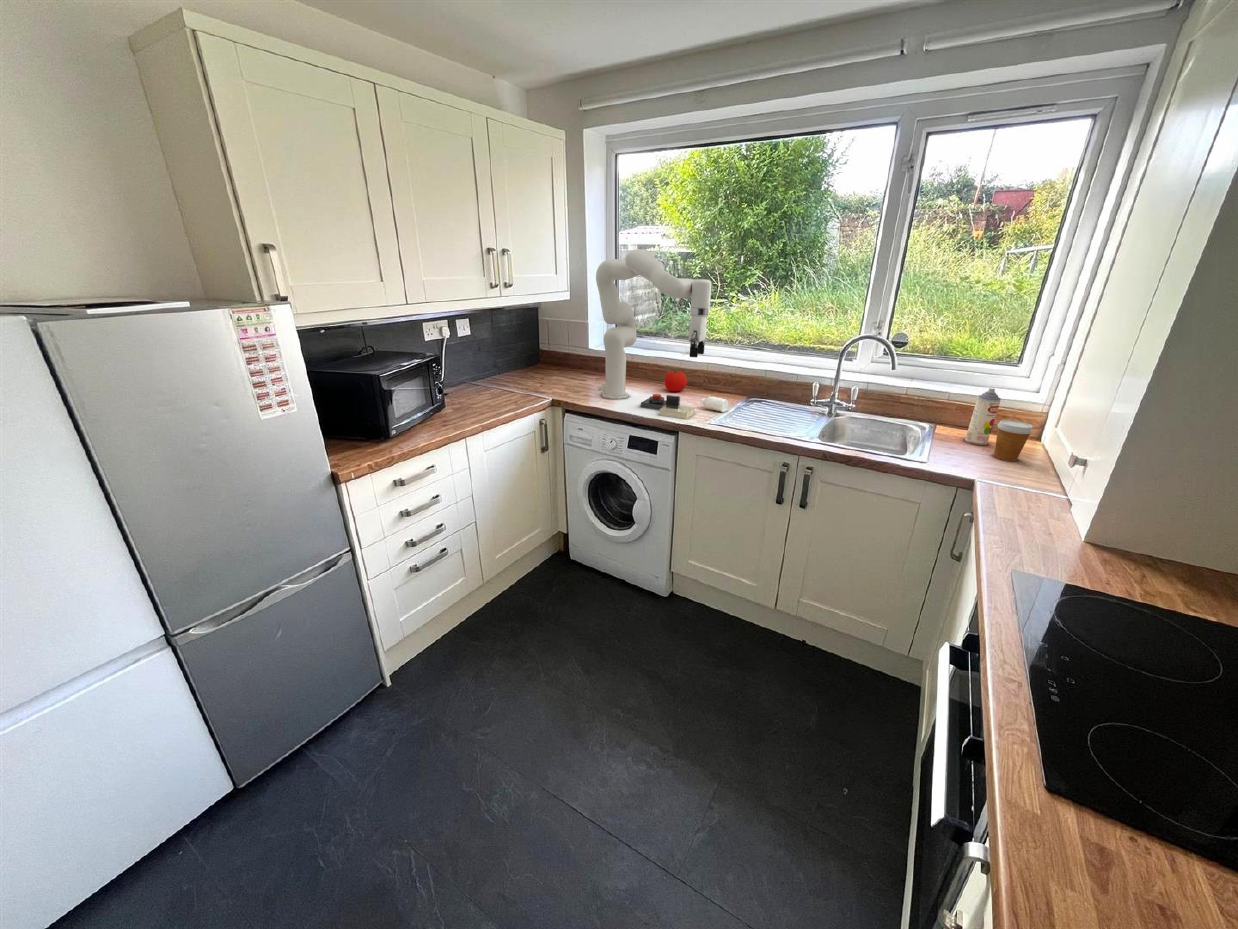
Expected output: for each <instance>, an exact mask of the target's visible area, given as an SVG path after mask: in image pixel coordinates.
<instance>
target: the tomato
mask: <svg viewBox="0 0 1238 929" xmlns="http://www.w3.org/2000/svg"><path fill="white" fill-rule="evenodd" d="M687 385H688V378H687V375H686V374H685V372H683V371H682V370H675V369H672V370H671V371H670V370H669V371H667V373H666V374H665V376H664V386H665V389H666V390H667V391H668V392H673V393H676V392H677V393H678V392H682V391H683V390H684V389H685V388H686V387H687Z"/></svg>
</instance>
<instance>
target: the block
mask: <svg viewBox="0 0 1238 929" xmlns="http://www.w3.org/2000/svg"><path fill="white" fill-rule="evenodd" d="M665 405H666V399H665V397H664V396H661V399H653V395H652V396H651V395H650V396H649V397H648V398H646V399H644V400H643V401H641V403H640V408H644V409H651V410H658V411H660V409H661V408H662V407H663V406H665Z"/></svg>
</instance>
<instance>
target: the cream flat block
mask: <svg viewBox="0 0 1238 929" xmlns="http://www.w3.org/2000/svg"><path fill="white" fill-rule="evenodd" d="M695 409H696V407H693V406H686V405H680V408H679V409H675V408H668V407H666V405H665V406H663V407H662V408H661V409H660V410H658V411H659V413H658V415H659V416H663V417H671V418H677V419H685V420H688V419H689V418H691V417H692V415H694V414H695Z"/></svg>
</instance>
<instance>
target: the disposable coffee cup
mask: <svg viewBox="0 0 1238 929" xmlns="http://www.w3.org/2000/svg"><path fill="white" fill-rule="evenodd" d="M1033 427H1034V426H1033V424H1030V423H1027V422H1024V421H1019V420H1013V419H1012V420H1011V419H1002V420H1000V421H999V423H997V433H996V438H995V445H994V452H993V457H994V458H996V459H998V460H1001V461H1006V462H1016V461H1017V460H1018V458H1019V457H1020V454H1021V453H1022V450H1023V448H1024V446H1026V443H1027V442H1028V439H1029V437H1030V435H1031V434H1032V433H1033V432H1034V429H1033Z"/></svg>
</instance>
